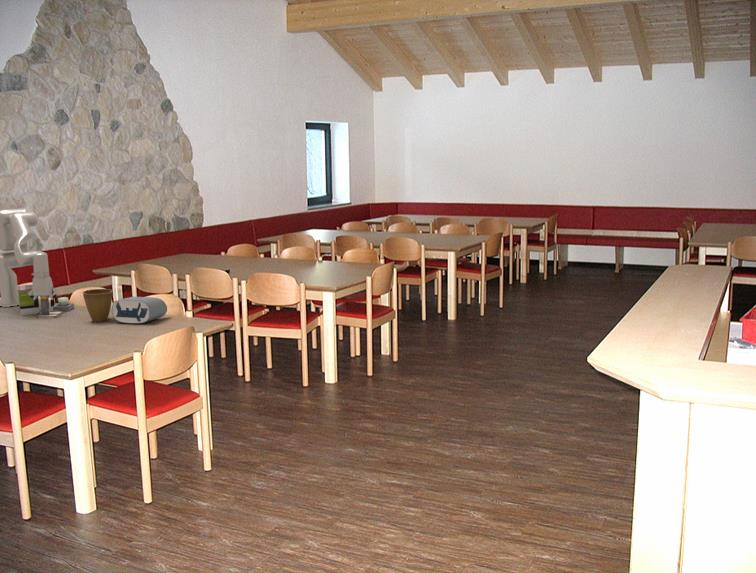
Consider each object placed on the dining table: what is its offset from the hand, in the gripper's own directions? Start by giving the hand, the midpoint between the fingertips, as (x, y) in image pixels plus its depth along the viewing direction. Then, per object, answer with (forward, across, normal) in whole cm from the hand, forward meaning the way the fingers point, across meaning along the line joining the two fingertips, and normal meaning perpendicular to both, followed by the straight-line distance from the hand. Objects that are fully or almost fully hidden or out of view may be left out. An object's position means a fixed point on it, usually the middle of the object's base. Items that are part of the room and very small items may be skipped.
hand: (44, 306), depth 420 cm
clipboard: (+5, +2, +2) cm, 6 cm away
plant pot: (+6, +34, -17) cm, 38 cm away
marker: (+5, 0, 0) cm, 5 cm away
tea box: (+6, -13, +12) cm, 18 cm away
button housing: (+5, +5, +15) cm, 17 cm away
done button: (+2, +5, +15) cm, 16 cm away
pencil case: (+6, +56, -20) cm, 60 cm away
